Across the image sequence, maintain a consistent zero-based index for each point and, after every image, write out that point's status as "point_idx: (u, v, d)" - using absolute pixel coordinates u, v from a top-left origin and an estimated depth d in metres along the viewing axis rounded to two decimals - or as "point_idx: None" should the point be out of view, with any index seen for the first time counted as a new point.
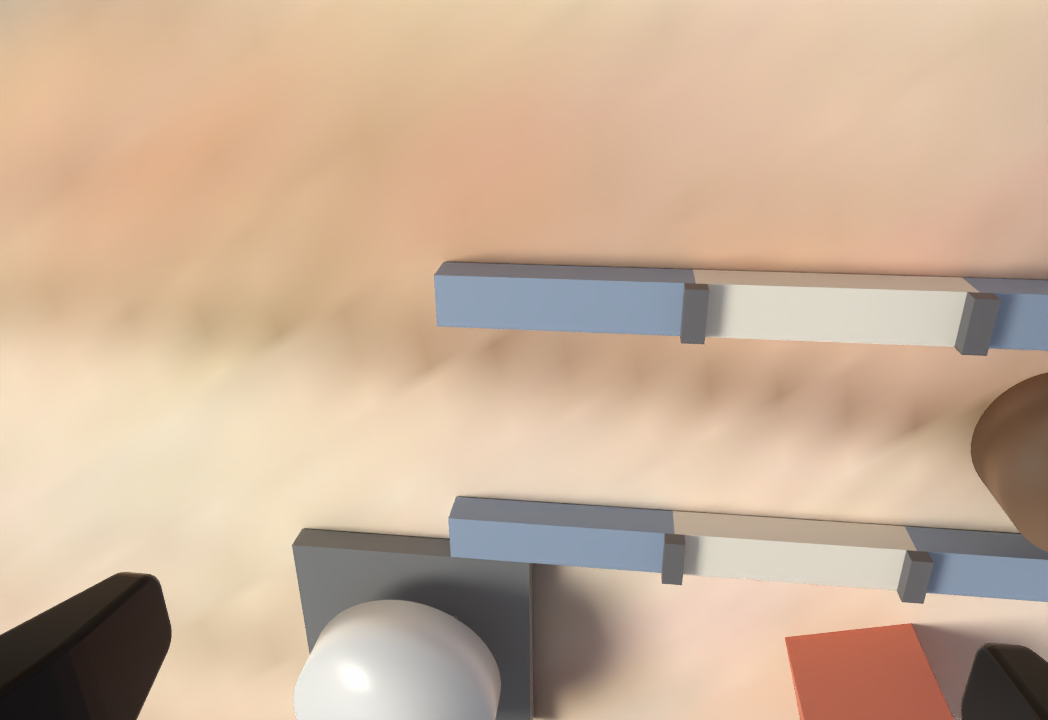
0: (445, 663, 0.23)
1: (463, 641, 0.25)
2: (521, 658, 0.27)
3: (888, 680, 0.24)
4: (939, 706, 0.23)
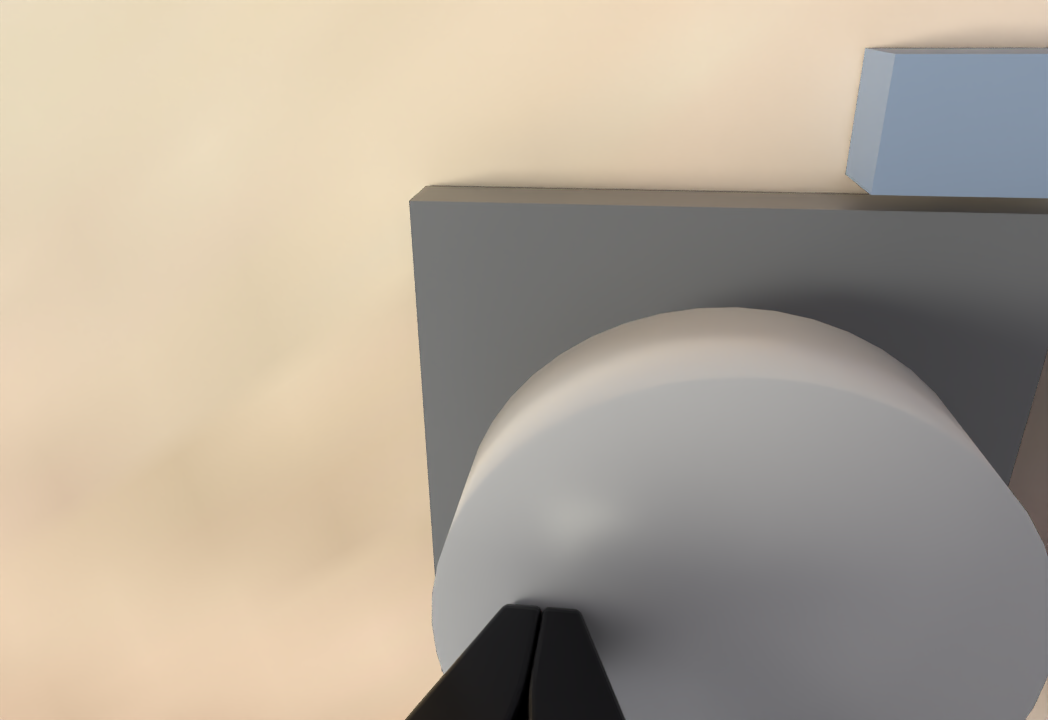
0: (963, 451, 0.07)
1: (949, 413, 0.08)
2: None
3: None
4: None
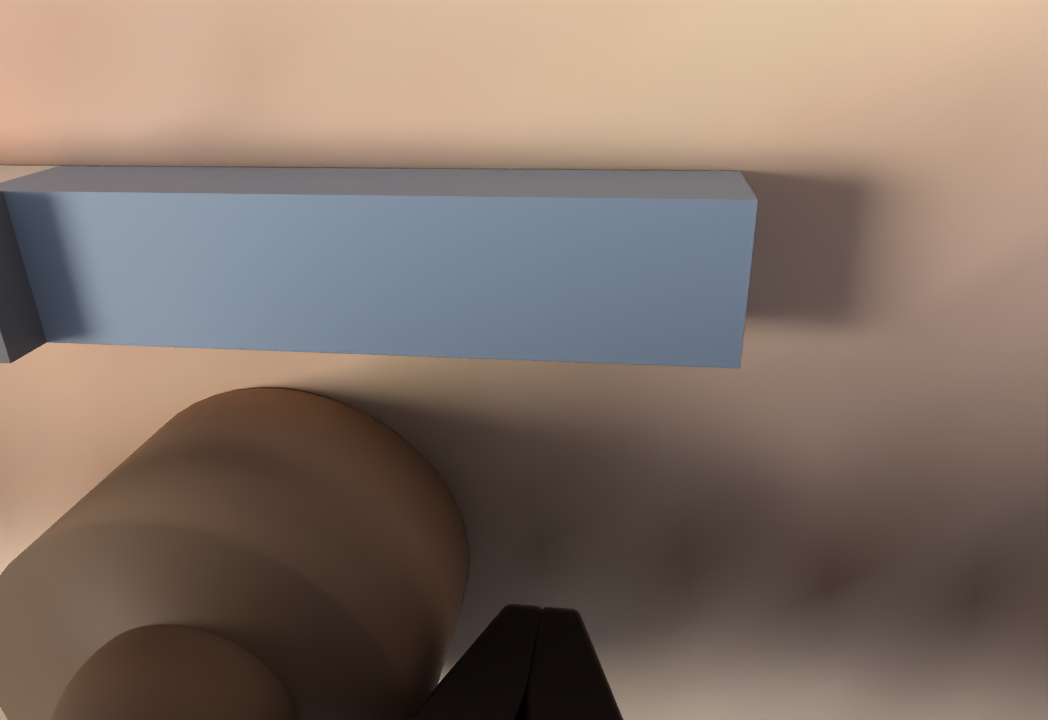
0: None
1: None
2: None
3: None
4: None
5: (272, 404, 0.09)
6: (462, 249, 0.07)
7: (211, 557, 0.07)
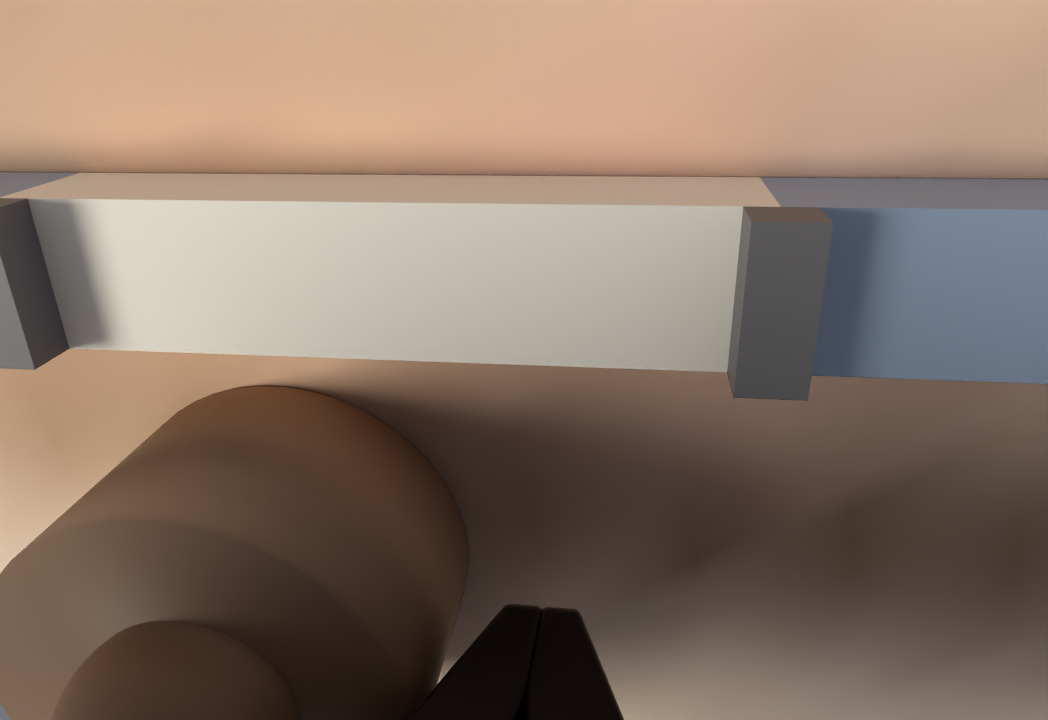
0: None
1: None
2: None
3: None
4: None
5: (272, 402, 0.09)
6: None
7: (211, 552, 0.07)
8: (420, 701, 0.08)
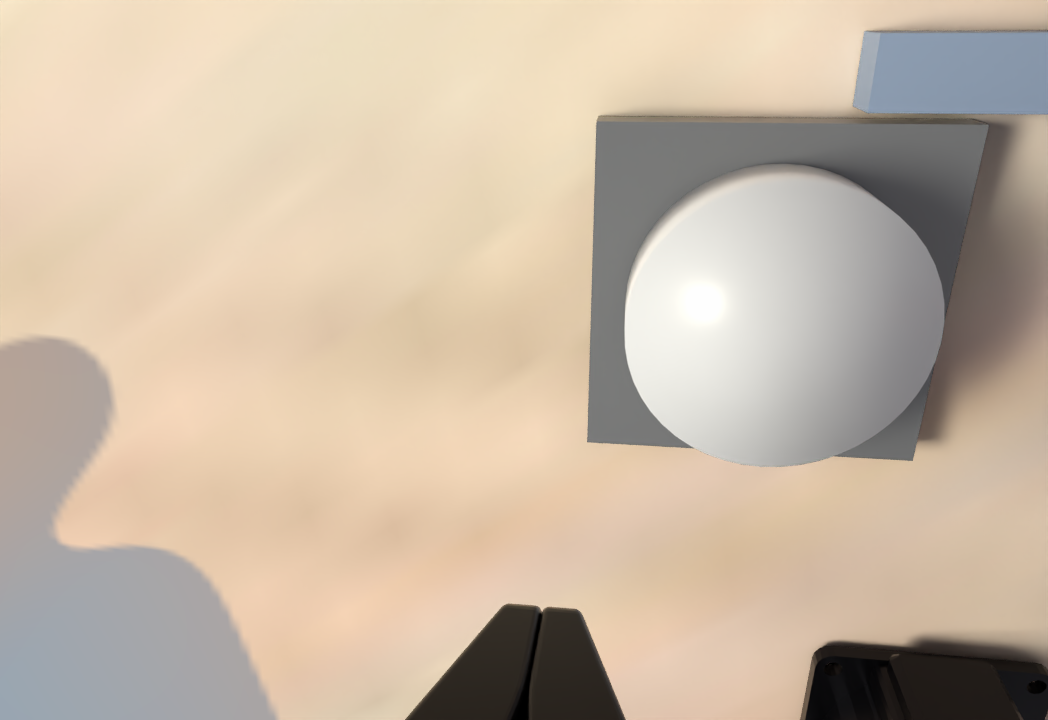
0: (895, 216, 0.15)
1: None
2: None
3: None
4: None
5: None
6: None
7: None
8: None
